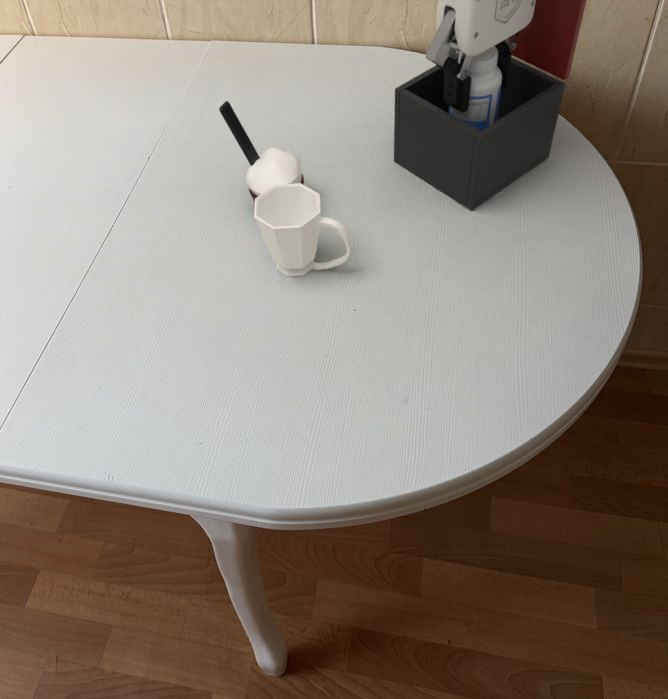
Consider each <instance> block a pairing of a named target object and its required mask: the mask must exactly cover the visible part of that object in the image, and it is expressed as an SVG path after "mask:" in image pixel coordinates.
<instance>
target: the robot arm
mask: <svg viewBox="0 0 668 699" xmlns="http://www.w3.org/2000/svg"><path fill="white" fill-rule="evenodd" d="M535 2H536V0H437V7H436V18H435V19H436V20H435V21H436V22H435V26H436V28H435V29H436V32H435V35H434V36H433V38H432V40H431V43H430V44H429V46H428V48H427V49H426V52H425V59H427V60H428V61H430V62H432V63H433V64H435V66H436V65H437V66H438V67H439V68H441V70H442V71H444V72H445V76H444V91H443V101H444V103H445V104H447V105H449V106H451V107H453V108H455V109H456V110H458V111H460V112H462V113H464V112H466V111H467V110H468V108H469V99H470V89H471V77H470V76H468V72H469V69H470V65H471V62H472V59H473V56H476V55H478V54H480V53H482V52H484V51H486V50H488V49H489V48H491V47H493V46H495V47H496V48H497V50H498V59H497V67H498V68H499V69H500V71H501V73H502V83H501V89H503V88H505V87H506V86H507V83H508V77H509V70H510V63H511V57H512V53H510V52H512V51H513V50H514V49H515V48H516V46H517V36H518V34H519V32H520V31H521V30H522V29H523V28H525V27H526V26H527V25H528V24H529V23H530V21H531V20H532V18H533V14H534V8H535ZM459 51H460V52H462V53H463V54H462V57H461V61H460V64H459V63H458V62H457V61H456V60H454V57H455V54H457V52H459Z"/></svg>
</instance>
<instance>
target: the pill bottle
mask: <svg viewBox="0 0 668 699" xmlns="http://www.w3.org/2000/svg"><path fill="white" fill-rule="evenodd" d="M458 53H459V59H458V63H459V64H460V61H461V57H462V54H463V53H462V52H460V51H458ZM497 59H498V50H497V48H496V47H495V46H493V47H491V48H489V49H488V50H486V51H484V52H482V53H480V54H478V55H476V56H473V59H472V62H471V65H470V69H469V72H468V76H470V77H471V89H470V99H469V108H468V110H467V111H466V112H464V113H462V112H460V111H458V110H456V109H455V108H453V107H451V106H449V114H450V115H452V116H454V117H456V118H458V119H459V120H461V121H463V122H465V123H466V124H468V125H470V126H472V127H474V128H475V129H477V130H479V131H480V132H481V131H482V130H484V129H485V128H487V127H488V126H490V125H492V124H493V123H495V122H496V121H497V114H498V106H499V99H500V91H501V83H502V73H501V71H500V69H499V68H498V67H497Z"/></svg>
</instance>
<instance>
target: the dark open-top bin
mask: <svg viewBox="0 0 668 699" xmlns="http://www.w3.org/2000/svg"><path fill="white" fill-rule="evenodd" d="M458 59H459V52H456V53H455V57H454V60H456V61H457V62H458ZM444 76H445V72H444V71H442V70H441V68H439V67H438V66H437V65H436V64H435V65H433V66H432V67H430V68H429V69H427V70H425V71H423V72H422V73H420V74H418V75H416V76H414V77H413V78H412V79H409V80H408V81H406V82H404V83H402V84H401V85H398V86H397V87H395V88H394V119H393V120H394V121H393V122H394V124H393V125H394V126H393V130H394V131H393V136H394V137H393V162H395V163H396V164H398V165H399V166H401V167H402V168H404V169H405V170H407V171H409V173H411V174H413V175H414V176H416V177H418V178H419V179H421V180H422V181H424V182H425V183H427V184H428V185H430V186H431V187H433V188H435V189H436V190H438V191H440V192H441V193H443V194H444V195H446V196H447V197H449V198H450V199H451V200H454V201H455V202H457V204H460V205H462V206H463V207H464V208H466V209H468V210H469V211H471V212H472V211H474V210H475V209H476V208H478V207H479V206H480V205H483V204H484V203H486V202H487V201H488V200H489V199H491V198H492V197H494V196H496V195H497V194H498V193H500V192H501V191H503V190H504V189H505V188H506V187H509V186H510V185H511V184H512V183H514V182H515V181H517V180H518V179H520V178H521V177H522V176H524V175H526V174H527V173H529V172H530V171H532V170H533V169H534V168H536V167H537V166H538V165H540V164H541V163H543V162H545V161H546V160H547V159H549V157H550V153H551V149H552V144H553V140H554V135H555V131H556V127H557V123H558V117H559V113H560V110H561V104H562V100H563V95H564V92H565V89H566V83H565V82H564V81H561V80H560V79H558V78H557V77H556V78H555V76H554V77H553V76H551V75H549V74H548V73H546V72H543V71H542V70H540V69H537V68H536V67H534V66H532V65H531V66H530V64H529V65H528V63H526V62H525V63H524V62H522V61H521V60H519V59H517V58H514V57H512V56H511V63H510V70H509V77H508V83H507V86H506V87H505V88H503V89H501V91H500V99H499V106H498V114H497V121H496V122H495V123H493V124H492V125H490V126H488V127H487V128H485V129H484V130H482V131H481V132H480V131H479V130H477V129H475V128H474V127H472V126H470V125H468V124H466V123H465V122H463V121H461V120H459V119H458V118H456V117H454V116H452V115H450V114H449V105H447V104H445V103H444V101H443V91H444Z"/></svg>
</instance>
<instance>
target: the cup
mask: <svg viewBox="0 0 668 699" xmlns="http://www.w3.org/2000/svg"><path fill="white" fill-rule="evenodd" d="M253 216H254V220H255V223H256V225H257V228H258V230H259V232H260V234H261V237H262V241H263V242H264V245H265V247H266V250H267V252H268V253H269V255H270V257H271V259H272V260H273V262H274V263H275V269H276V270H277V271H278V272H279V273H281V274H282V275H284V276H286V277H288V278H291V277H303V276H305V275H306V274H308V272H310V271H311V270H315V271H321V270H322V271H323V270H328V269H331V268H335V267H338V266H340V265H342V264H343V263H345V262H346V261H348V259H349V258H350V255H351V252H352V249H353V245H352V239H351V237H350V234H349V232H348V230H347V229H346V227H344V226H343V224H342V223H340V222H339V221H338V220H336V219H332V218H329V217H326V216H321V194H320V193H318V192H317V191H315V190H313V189H311V188H310V187H308V186H306V185H305V184H304V185H303V184H301V183H296V184H282V185H274V186H272V187H271V188H269V189H268V190H267V191H265V192H264V193H262V194H261V195H260V196H258V197H257V198H255V201H254V215H253ZM321 227H323V228H324V227H326V228H331V229H334V230H335V231H336V232H337V233H338V234H339V235H340V236H341V237H342V240H343V242H344V244H345V248H346V254H344V255H342V256H341V257H339V258H335V259H333V260H330V261H326V262H317V261H315V259H316V254H317V249H318V245H319V244H318V243H319V233H320V232H319V231H320V228H321Z"/></svg>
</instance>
